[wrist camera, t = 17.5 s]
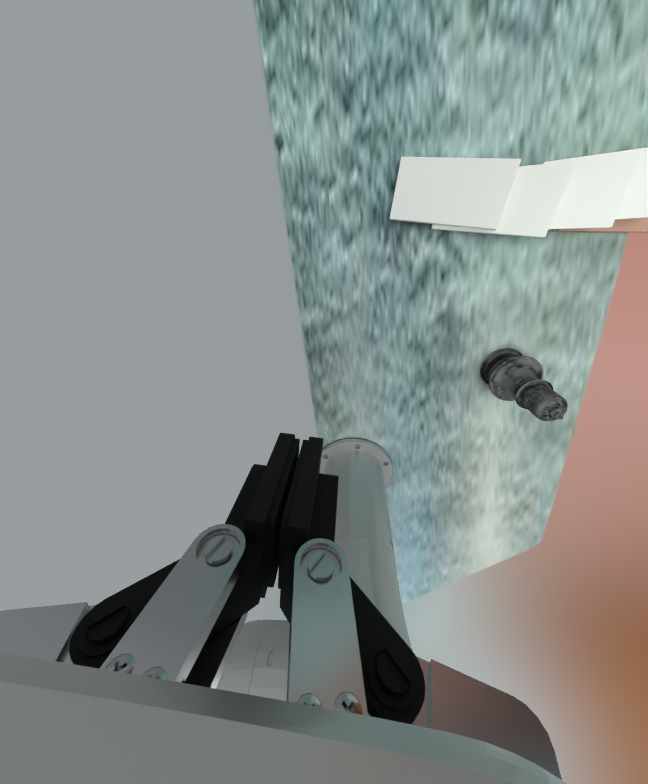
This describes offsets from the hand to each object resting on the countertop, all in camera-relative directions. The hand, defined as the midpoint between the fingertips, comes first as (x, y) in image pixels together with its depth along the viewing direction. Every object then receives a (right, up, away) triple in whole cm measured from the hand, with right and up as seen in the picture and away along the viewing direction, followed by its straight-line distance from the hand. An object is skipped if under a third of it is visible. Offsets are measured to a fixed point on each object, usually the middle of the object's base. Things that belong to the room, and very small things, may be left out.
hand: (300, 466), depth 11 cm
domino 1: (+8, +23, +17) cm, 30 cm away
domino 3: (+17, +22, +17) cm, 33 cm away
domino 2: (+13, +22, +17) cm, 31 cm away
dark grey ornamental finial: (+24, +6, +26) cm, 36 cm away
